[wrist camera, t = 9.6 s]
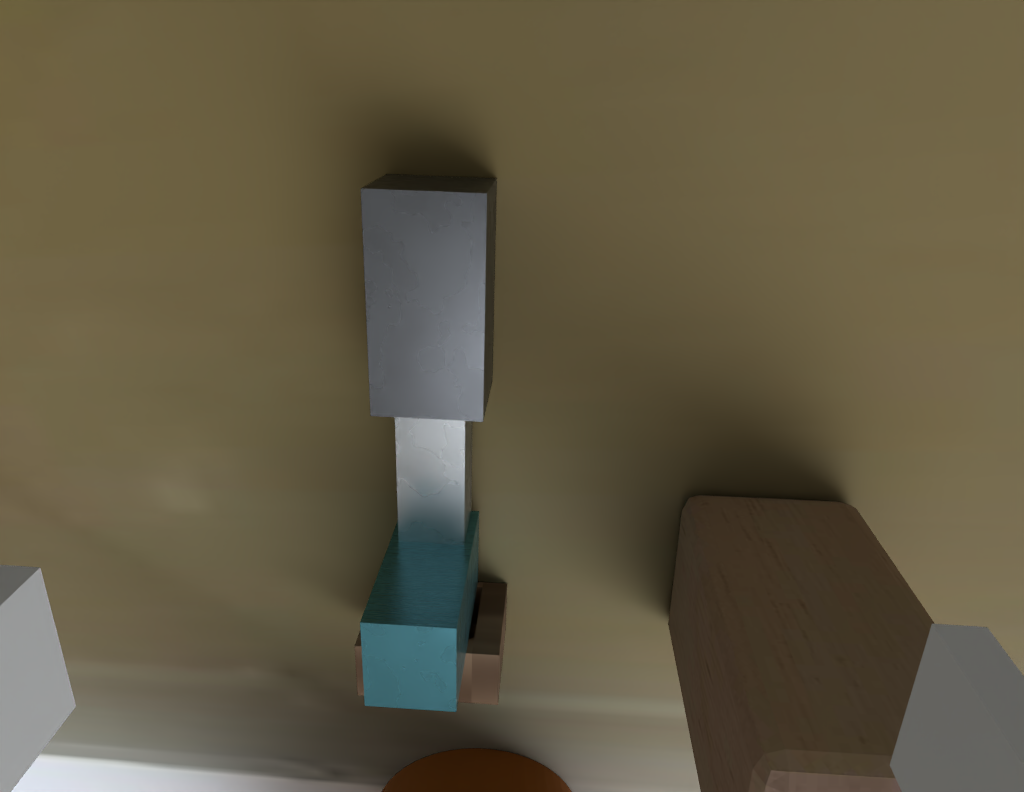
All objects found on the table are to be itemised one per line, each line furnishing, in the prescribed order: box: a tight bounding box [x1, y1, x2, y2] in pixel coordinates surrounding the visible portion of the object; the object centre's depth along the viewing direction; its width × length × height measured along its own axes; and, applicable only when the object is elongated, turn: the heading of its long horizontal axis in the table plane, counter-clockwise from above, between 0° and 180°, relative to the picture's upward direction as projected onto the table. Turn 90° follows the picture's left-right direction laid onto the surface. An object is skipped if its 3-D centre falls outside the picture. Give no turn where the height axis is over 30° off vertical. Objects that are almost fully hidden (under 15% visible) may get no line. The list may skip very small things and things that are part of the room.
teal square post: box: [360, 417, 479, 712], centre depth 40 cm, size 19×4×10 cm, turn 178°
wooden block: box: [668, 495, 934, 792], centre depth 38 cm, size 10×10×20 cm
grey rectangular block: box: [361, 174, 497, 422], centre depth 39 cm, size 11×6×6 cm, turn 178°
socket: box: [355, 582, 507, 705], centre depth 46 cm, size 4×8×6 cm, turn 88°
